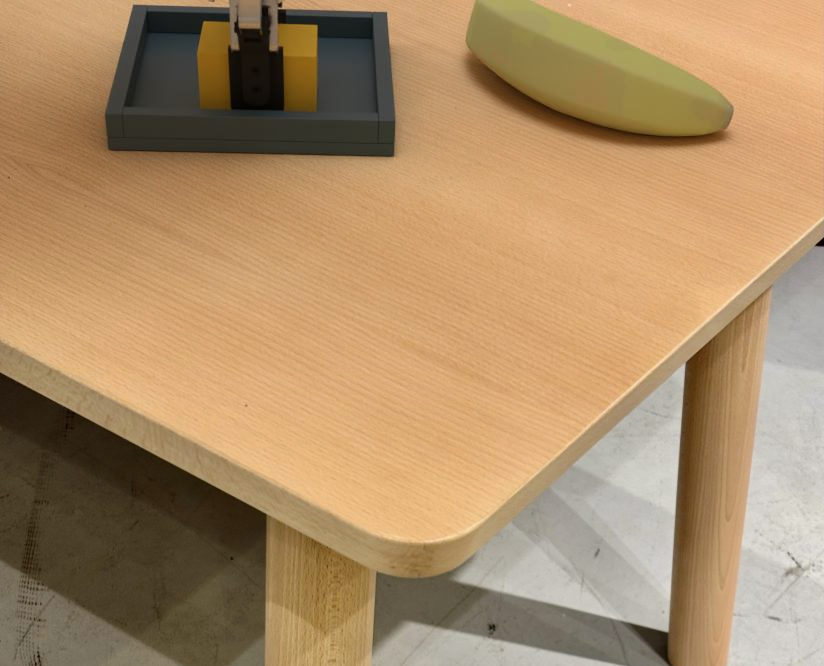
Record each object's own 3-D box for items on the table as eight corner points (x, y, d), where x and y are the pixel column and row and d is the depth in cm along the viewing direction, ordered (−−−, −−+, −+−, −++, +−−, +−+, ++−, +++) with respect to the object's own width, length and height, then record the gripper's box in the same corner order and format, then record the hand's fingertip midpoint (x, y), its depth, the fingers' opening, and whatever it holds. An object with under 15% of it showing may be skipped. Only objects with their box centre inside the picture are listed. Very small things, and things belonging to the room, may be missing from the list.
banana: (561, 38, 79) (448, -46, 95) (532, 131, 82) (426, 34, 97) (756, 79, 85) (618, -7, 100) (722, 165, 87) (594, 68, 103)
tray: (108, 150, 82) (104, 113, 80) (136, 37, 94) (133, 4, 92) (394, 156, 83) (395, 120, 82) (385, 44, 95) (387, 11, 93)
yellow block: (200, 115, 84) (197, 52, 81) (206, 82, 87) (203, 20, 85) (316, 119, 84) (316, 56, 82) (317, 86, 88) (317, 24, 85)
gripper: (190, -276, 79) (209, 33, 92) (161, -188, 67) (187, 156, 79) (321, -271, 80) (322, 36, 92) (316, -183, 67) (318, 158, 80)
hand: (259, 88), depth 85 cm, fingers closed on yellow block, 4 cm apart
